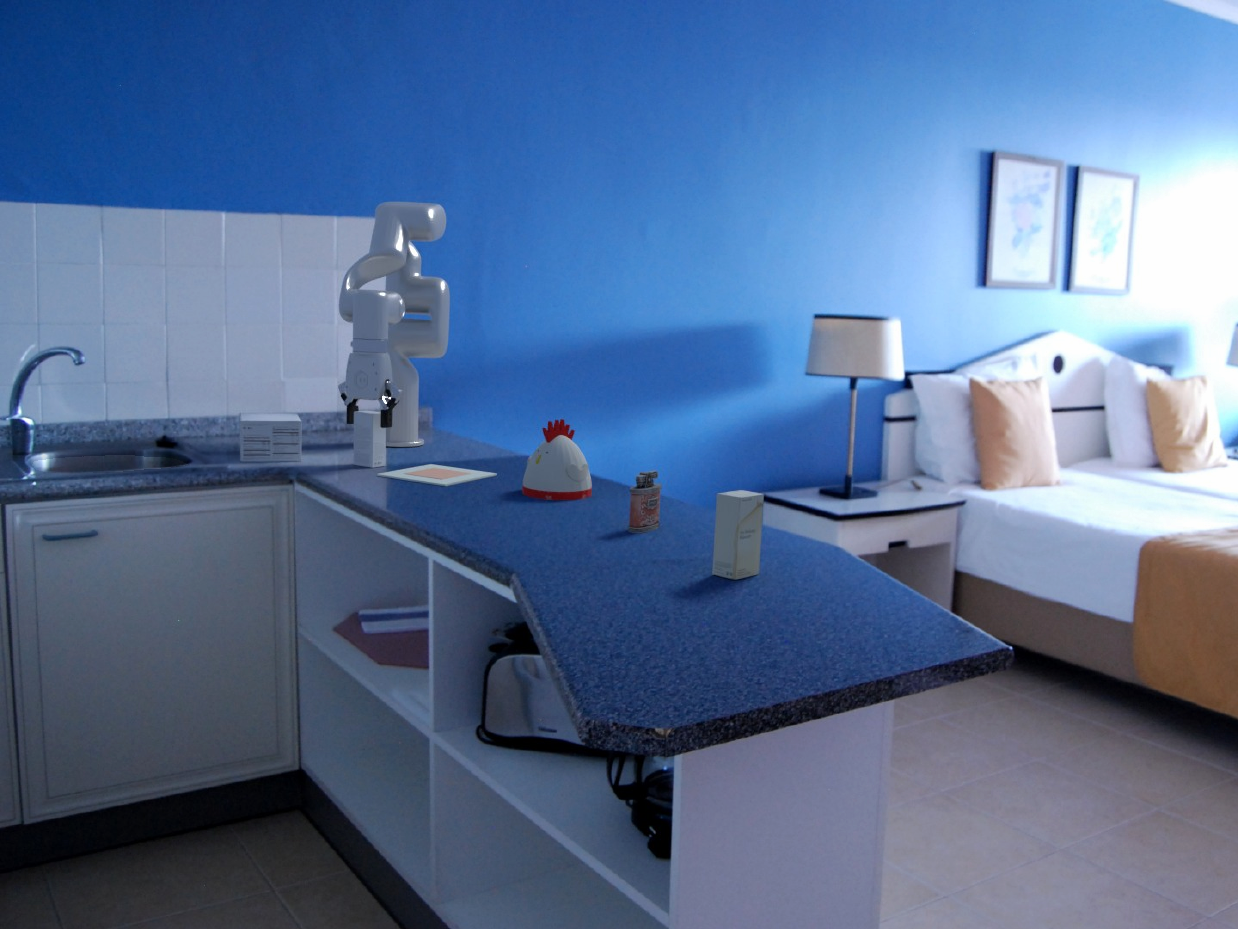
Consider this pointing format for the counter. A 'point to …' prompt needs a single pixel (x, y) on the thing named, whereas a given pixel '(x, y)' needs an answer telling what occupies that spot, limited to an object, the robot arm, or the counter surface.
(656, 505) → the lighter
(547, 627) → the counter surface
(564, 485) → the kitchen timer
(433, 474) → the square coaster
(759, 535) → the skincare box
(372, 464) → the skincare box
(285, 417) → the supplement box
